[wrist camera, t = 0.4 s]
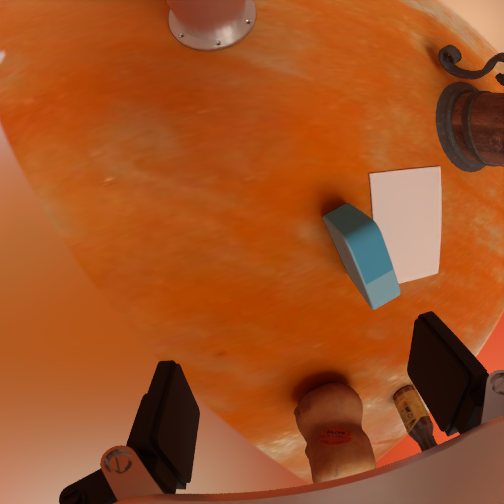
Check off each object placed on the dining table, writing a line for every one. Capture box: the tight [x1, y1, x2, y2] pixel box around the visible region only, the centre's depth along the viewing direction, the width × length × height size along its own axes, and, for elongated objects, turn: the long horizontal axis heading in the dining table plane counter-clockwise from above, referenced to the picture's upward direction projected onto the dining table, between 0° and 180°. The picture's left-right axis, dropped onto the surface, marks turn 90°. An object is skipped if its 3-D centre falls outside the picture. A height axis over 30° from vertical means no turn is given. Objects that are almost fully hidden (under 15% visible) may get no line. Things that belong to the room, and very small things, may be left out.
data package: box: [323, 203, 401, 310], centre depth 40 cm, size 12×4×12 cm, turn 29°
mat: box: [369, 166, 441, 284], centre depth 45 cm, size 20×14×1 cm
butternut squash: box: [294, 382, 376, 484], centre depth 46 cm, size 14×13×25 cm
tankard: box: [436, 45, 504, 172], centre depth 28 cm, size 24×17×20 cm
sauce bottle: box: [394, 386, 438, 452], centre depth 51 cm, size 6×6×20 cm
